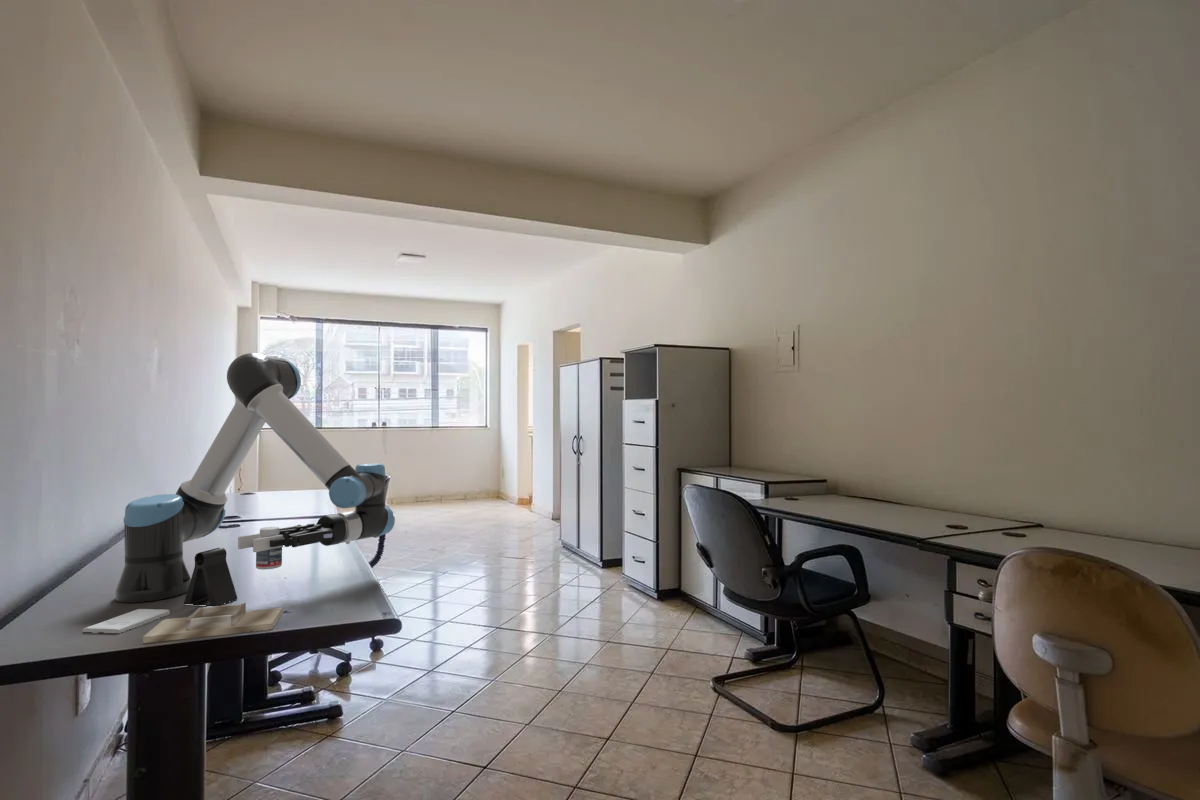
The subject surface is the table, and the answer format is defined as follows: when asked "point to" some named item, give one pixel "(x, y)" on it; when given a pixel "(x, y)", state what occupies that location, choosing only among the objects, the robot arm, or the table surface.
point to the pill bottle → (269, 551)
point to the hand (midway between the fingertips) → (246, 544)
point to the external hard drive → (127, 621)
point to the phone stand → (210, 580)
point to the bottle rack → (214, 623)
